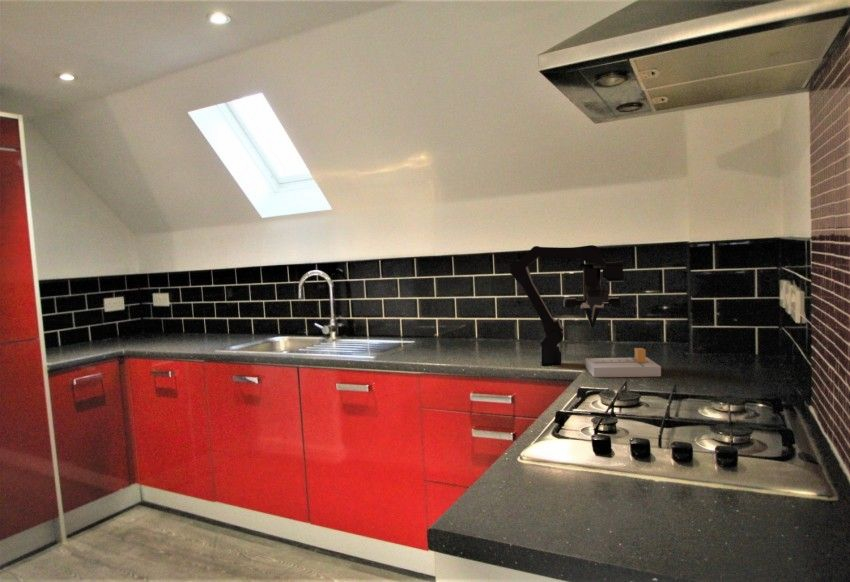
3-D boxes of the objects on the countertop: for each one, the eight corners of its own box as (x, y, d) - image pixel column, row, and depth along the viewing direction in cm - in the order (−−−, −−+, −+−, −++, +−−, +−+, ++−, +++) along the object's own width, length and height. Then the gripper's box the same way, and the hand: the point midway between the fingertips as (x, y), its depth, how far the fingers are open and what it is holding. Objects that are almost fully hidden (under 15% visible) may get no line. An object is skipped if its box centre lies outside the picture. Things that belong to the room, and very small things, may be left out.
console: (593, 377, 182) (593, 367, 182) (585, 367, 198) (585, 358, 198) (661, 376, 180) (660, 366, 180) (647, 366, 196) (647, 356, 195)
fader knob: (637, 369, 186) (637, 350, 186) (634, 367, 190) (634, 348, 190) (645, 369, 186) (645, 349, 186) (642, 367, 190) (642, 347, 190)
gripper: (566, 283, 194) (566, 330, 195) (625, 282, 191) (625, 330, 192) (562, 282, 205) (563, 326, 206) (618, 281, 202) (618, 326, 203)
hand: (592, 327), depth 201 cm, fingers closed
